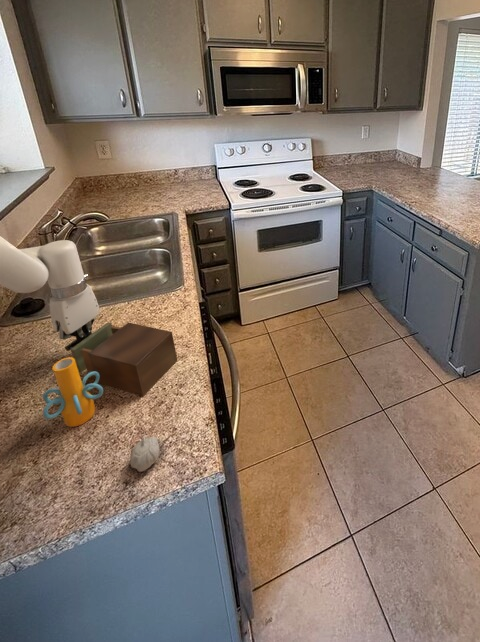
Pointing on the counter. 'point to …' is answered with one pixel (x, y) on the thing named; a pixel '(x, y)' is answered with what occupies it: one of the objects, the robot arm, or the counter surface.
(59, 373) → the yellow vase with loops
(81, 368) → the drawer
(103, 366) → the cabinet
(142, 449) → the garlic
